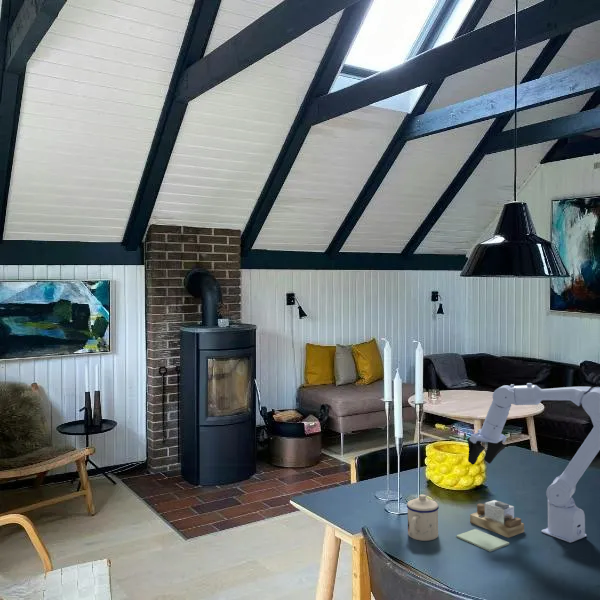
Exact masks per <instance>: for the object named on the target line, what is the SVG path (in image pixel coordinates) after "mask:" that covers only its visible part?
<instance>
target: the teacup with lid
mask: <svg viewBox="0 0 600 600" xmlns="http://www.w3.org/2000/svg"><path fill="white" fill-rule="evenodd" d="M439 508H440V507H439V504H438V502H436V501H435V500H432V499H430V498H427V495H425V494H419V495H418V497H417V498H414V499H411V500H408V502H407V503H406V509H407V535H408V537H410V538H411V539H413V540H416V541H422V542H426V541H433V540H436V539H437V538H438V537H439Z"/></svg>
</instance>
